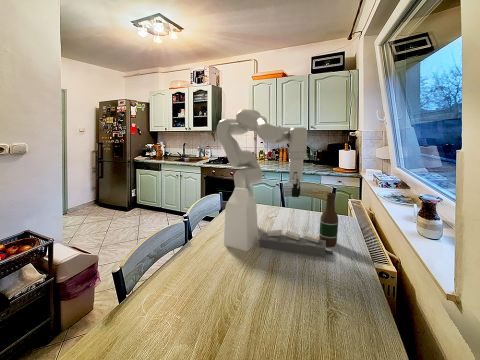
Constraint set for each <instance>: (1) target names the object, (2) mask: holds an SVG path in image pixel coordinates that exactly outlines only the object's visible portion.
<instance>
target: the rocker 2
mask: <svg viewBox="0 0 480 360" xmlns="http://www.w3.org/2000/svg"><path fill="white" fill-rule="evenodd" d="M303 238H305V239H308V240H311V241H314V242H317V243H318V241H319V235H318V236H317V235H314V234H311V233H308V232H305V234H304V236H303Z"/></svg>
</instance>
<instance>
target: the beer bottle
mask: <svg viewBox="0 0 480 360" xmlns="http://www.w3.org/2000/svg"><path fill="white" fill-rule="evenodd" d="M335 198H336V194H335V193H334V192H327V193H326V201H325V207H324V208H325V209H324V211H323V212H322V214H321V216H320V221H319V235H318V237H319V240H325V241H326V248H335V247H336V245H337V243H338V232H339V229H338V228H339V216H338V213H337V212H336V208H335V205H336V204H335Z"/></svg>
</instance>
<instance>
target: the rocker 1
mask: <svg viewBox="0 0 480 360" xmlns="http://www.w3.org/2000/svg"><path fill="white" fill-rule="evenodd" d="M266 233H267V234H268V236H277V235H283V230H282V229H273V230H268V232H266Z"/></svg>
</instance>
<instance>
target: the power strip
mask: <svg viewBox="0 0 480 360" xmlns="http://www.w3.org/2000/svg"><path fill="white" fill-rule="evenodd" d="M267 233H268V232H263V233H262V234H261V235H260V237H258V248H259V249H266V250H273V251H280V252H285V253H293V254H299V255H306V256H314V257H321V258H326V254H331V255H333V253H334V250H327V249H326V248H327V247H326V241H325V240H319V241H318V243H317V242H314V241H311V240H308V239H305V238H304V237H301V236H300V238H299V240H296V239H293V238H290V237H287V236H285V235H286V234H281V235H277V236H268V234H267Z"/></svg>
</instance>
